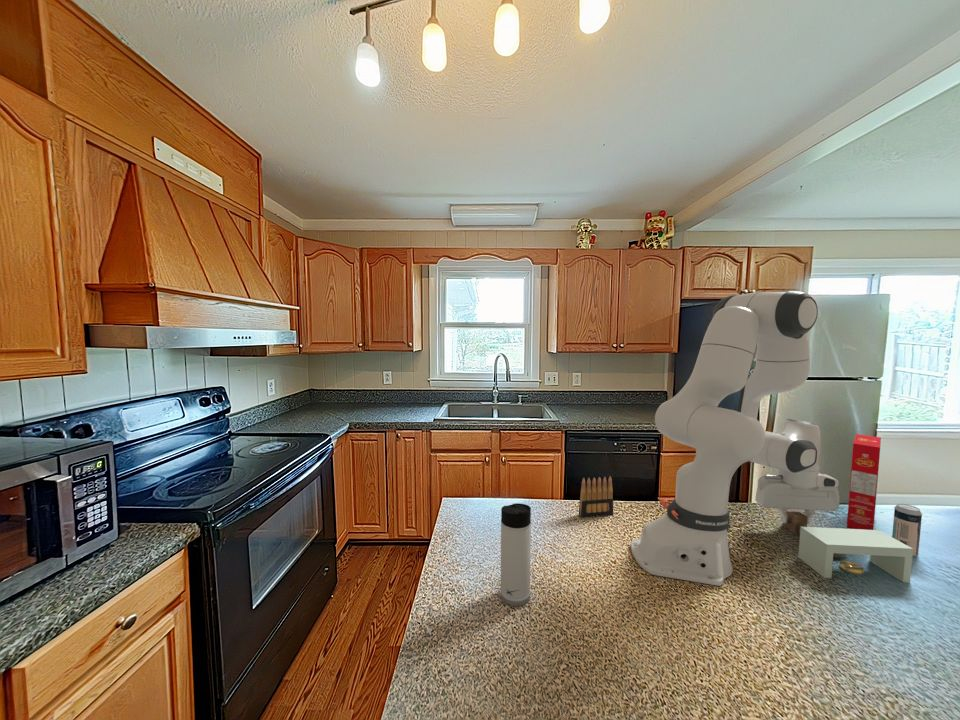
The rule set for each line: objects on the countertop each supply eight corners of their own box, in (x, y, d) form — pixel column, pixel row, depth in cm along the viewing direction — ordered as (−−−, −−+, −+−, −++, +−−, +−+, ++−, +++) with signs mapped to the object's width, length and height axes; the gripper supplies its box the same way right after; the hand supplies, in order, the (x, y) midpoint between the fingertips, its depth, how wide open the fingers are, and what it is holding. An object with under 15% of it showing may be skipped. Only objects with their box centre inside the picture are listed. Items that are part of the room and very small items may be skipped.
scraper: (820, 556, 95) (822, 537, 95) (777, 524, 111) (778, 507, 111) (846, 557, 95) (848, 538, 94) (798, 525, 111) (799, 508, 110)
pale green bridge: (824, 577, 87) (826, 544, 86) (798, 557, 95) (800, 526, 94) (910, 582, 85) (913, 548, 85) (876, 561, 93) (878, 530, 93)
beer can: (924, 558, 94) (928, 512, 94) (901, 556, 95) (905, 510, 95) (907, 548, 99) (911, 503, 98) (885, 545, 100) (889, 502, 99)
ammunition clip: (581, 517, 115) (582, 479, 114) (578, 514, 117) (579, 476, 116) (613, 514, 117) (614, 477, 116) (610, 511, 119) (611, 474, 118)
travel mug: (511, 612, 76) (512, 516, 75) (495, 592, 82) (495, 502, 80) (536, 601, 79) (538, 509, 77) (519, 583, 85) (520, 496, 83)
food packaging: (850, 511, 119) (856, 434, 118) (874, 517, 116) (881, 437, 114) (846, 527, 109) (853, 443, 108) (872, 535, 106) (880, 447, 104)
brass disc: (849, 575, 88) (849, 570, 88) (835, 564, 92) (835, 560, 92) (868, 576, 88) (868, 571, 88) (852, 565, 92) (853, 561, 92)
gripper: (766, 478, 105) (763, 526, 106) (845, 481, 103) (841, 530, 104) (752, 470, 111) (749, 515, 112) (826, 473, 110) (823, 519, 111)
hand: (794, 522), depth 108 cm, fingers open, 3 cm apart
